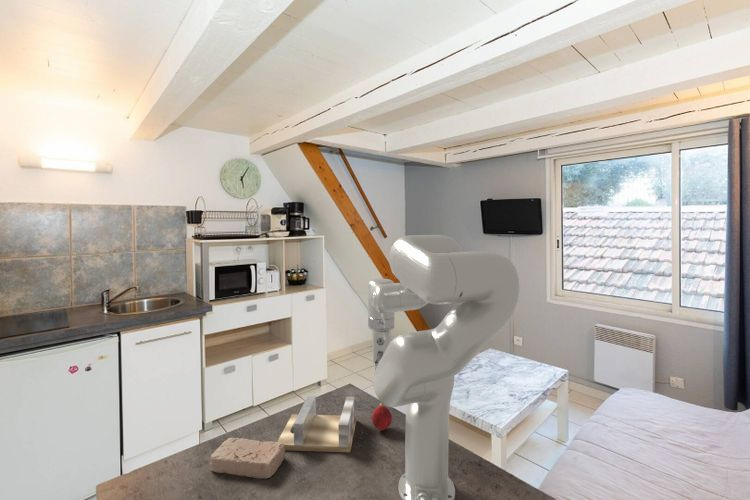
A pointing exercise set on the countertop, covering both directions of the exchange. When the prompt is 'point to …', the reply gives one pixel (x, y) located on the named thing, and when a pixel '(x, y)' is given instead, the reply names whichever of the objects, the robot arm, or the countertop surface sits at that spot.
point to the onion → (381, 417)
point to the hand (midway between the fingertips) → (381, 379)
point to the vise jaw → (304, 420)
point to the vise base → (325, 431)
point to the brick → (247, 458)
